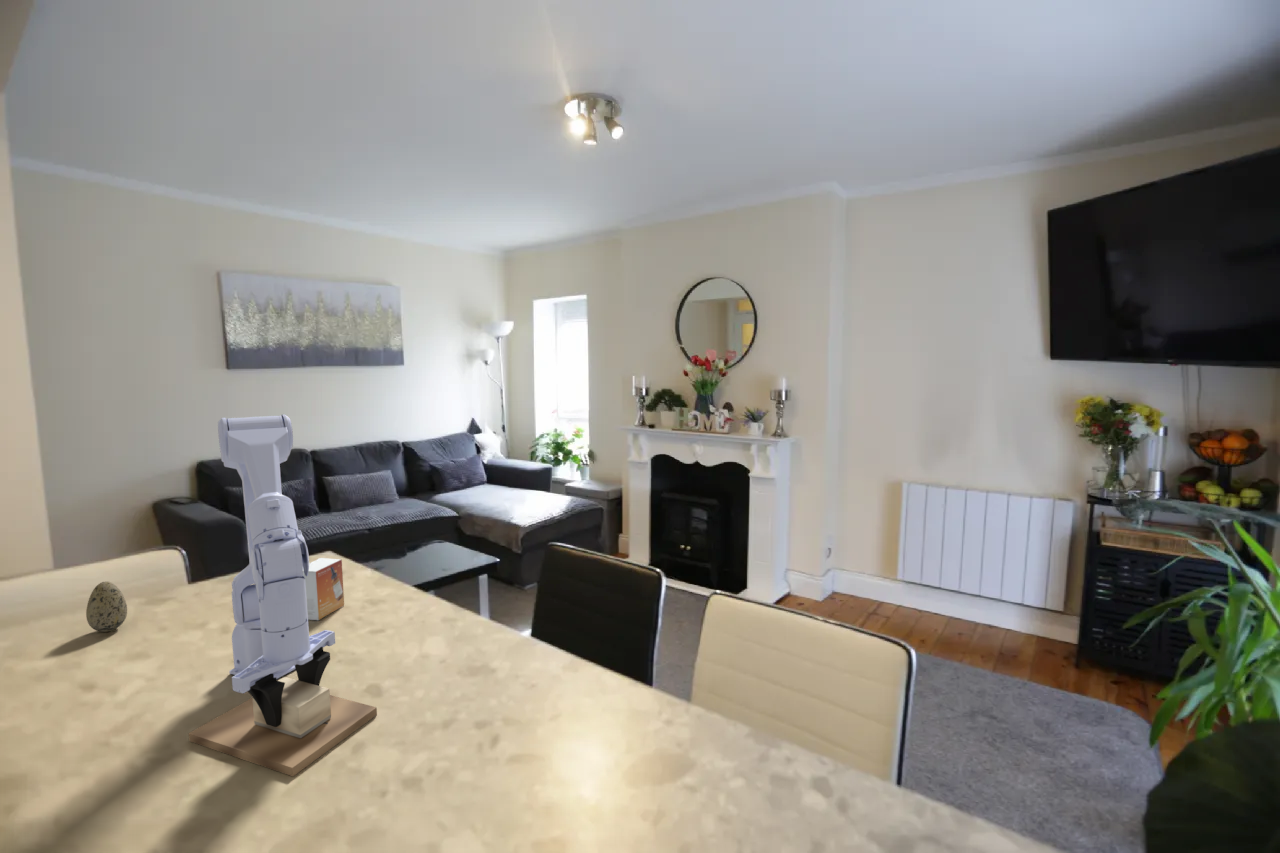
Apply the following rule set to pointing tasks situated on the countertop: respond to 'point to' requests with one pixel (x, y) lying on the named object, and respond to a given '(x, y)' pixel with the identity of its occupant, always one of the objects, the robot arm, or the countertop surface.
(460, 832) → the countertop surface
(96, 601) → the decorative egg
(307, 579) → the small box
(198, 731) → the oak board
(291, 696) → the block
